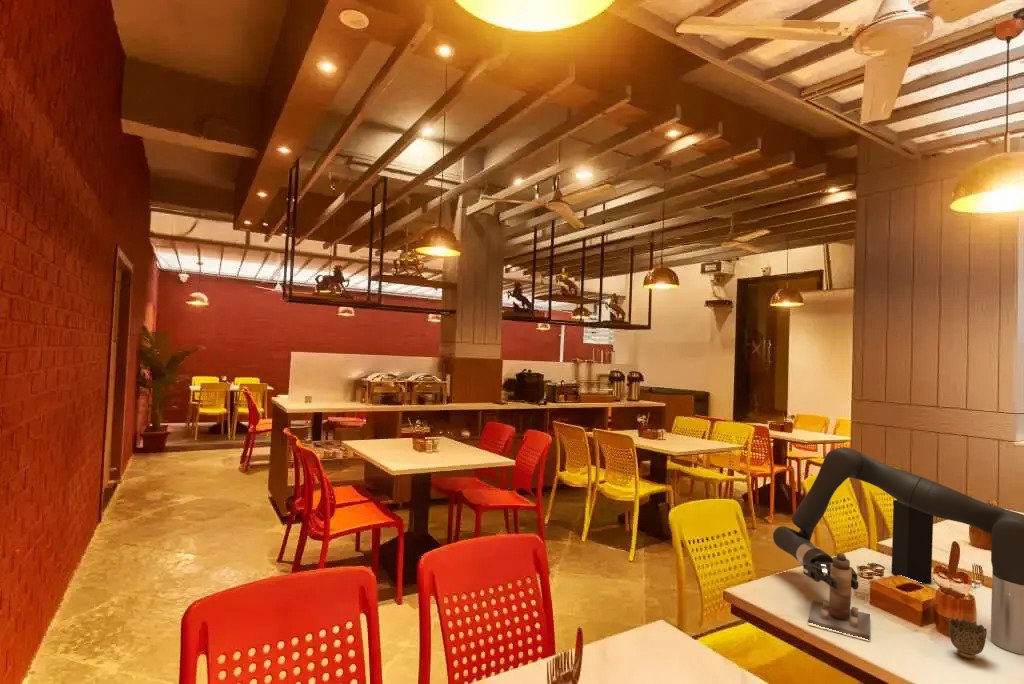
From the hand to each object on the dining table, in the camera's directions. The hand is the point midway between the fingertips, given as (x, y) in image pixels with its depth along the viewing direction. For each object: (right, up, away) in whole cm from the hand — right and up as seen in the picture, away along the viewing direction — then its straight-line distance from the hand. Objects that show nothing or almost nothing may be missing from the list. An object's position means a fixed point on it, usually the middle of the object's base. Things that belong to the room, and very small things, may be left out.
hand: (845, 585), depth 150 cm
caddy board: (0, -11, +3) cm, 12 cm away
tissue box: (+41, -12, +33) cm, 54 cm away
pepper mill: (0, -9, +3) cm, 9 cm away
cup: (+22, -12, -13) cm, 28 cm away
